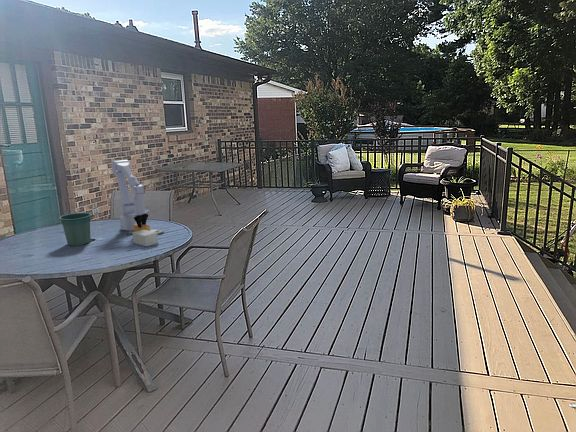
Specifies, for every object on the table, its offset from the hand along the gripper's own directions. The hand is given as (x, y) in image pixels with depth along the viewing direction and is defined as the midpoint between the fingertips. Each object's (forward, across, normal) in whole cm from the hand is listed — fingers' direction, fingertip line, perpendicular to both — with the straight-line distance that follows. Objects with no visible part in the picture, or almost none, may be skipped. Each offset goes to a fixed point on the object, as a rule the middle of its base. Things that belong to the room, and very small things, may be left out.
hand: (141, 226), depth 270 cm
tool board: (+4, 0, -2) cm, 5 cm away
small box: (+1, -15, -12) cm, 19 cm away
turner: (+3, 0, -3) cm, 4 cm away
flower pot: (+4, -30, +20) cm, 36 cm away
